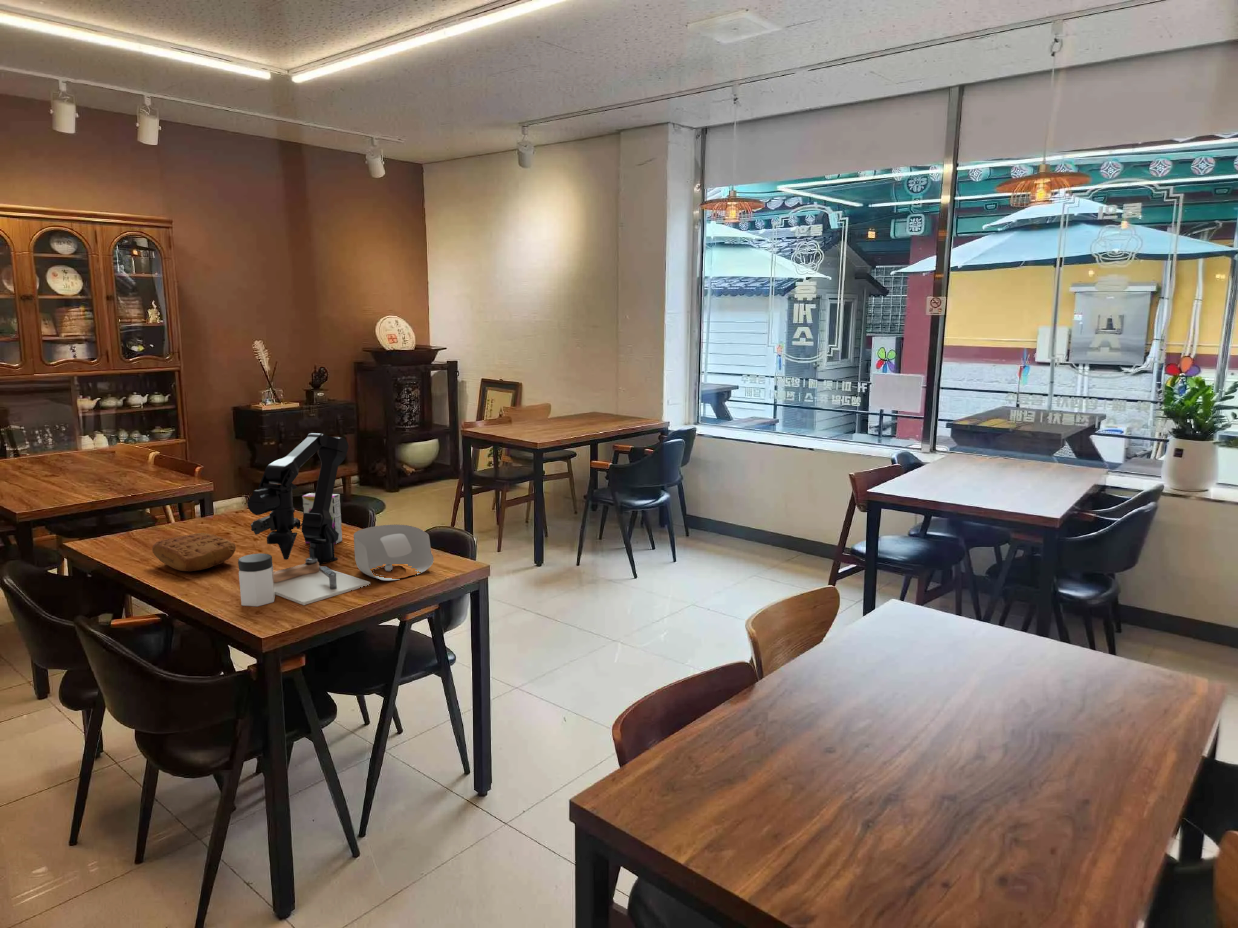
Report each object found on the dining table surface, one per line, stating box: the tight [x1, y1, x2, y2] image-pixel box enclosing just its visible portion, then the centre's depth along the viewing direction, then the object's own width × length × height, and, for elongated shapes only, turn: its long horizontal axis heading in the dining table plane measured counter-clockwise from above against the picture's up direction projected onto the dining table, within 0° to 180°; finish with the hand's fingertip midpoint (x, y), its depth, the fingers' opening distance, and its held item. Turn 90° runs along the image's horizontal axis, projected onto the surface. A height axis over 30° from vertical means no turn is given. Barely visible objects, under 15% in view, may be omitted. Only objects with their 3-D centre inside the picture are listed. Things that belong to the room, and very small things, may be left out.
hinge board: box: [274, 565, 371, 606], centre depth 222 cm, size 21×26×1 cm
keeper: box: [305, 557, 337, 590], centre depth 224 cm, size 3×21×4 cm, turn 40°
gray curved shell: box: [353, 524, 435, 581], centre depth 234 cm, size 20×19×12 cm
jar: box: [237, 553, 276, 607], centre depth 208 cm, size 9×8×12 cm
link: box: [273, 562, 320, 583], centre depth 226 cm, size 17×4×2 cm, turn 143°
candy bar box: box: [301, 492, 343, 545], centre depth 264 cm, size 11×5×16 cm, turn 84°
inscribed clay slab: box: [151, 532, 236, 572], centre depth 239 cm, size 22×17×8 cm
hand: (286, 559), depth 229 cm, fingers closed
